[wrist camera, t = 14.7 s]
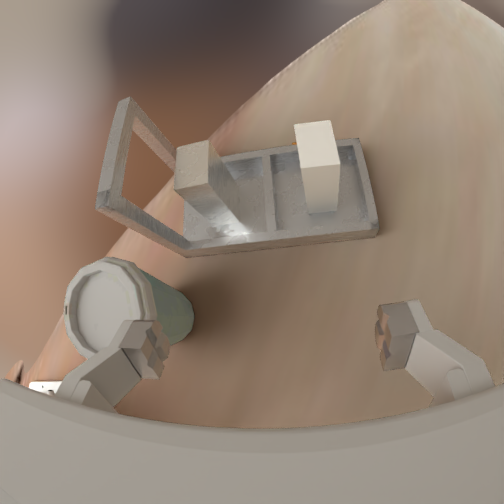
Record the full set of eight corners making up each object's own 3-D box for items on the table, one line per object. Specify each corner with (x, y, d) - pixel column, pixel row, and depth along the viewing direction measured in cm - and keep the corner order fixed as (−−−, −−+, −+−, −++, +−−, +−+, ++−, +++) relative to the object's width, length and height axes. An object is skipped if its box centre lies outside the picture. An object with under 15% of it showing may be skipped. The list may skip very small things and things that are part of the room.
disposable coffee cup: (211, 276, 37) (145, 246, 23) (211, 362, 34) (143, 381, 20) (141, 279, 39) (63, 255, 25) (140, 356, 37) (59, 362, 22)
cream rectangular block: (308, 213, 35) (300, 168, 25) (303, 177, 36) (293, 124, 26) (336, 210, 34) (340, 164, 24) (330, 174, 35) (330, 120, 25)
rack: (186, 257, 38) (94, 209, 21) (188, 175, 42) (119, 98, 25) (374, 237, 33) (414, 159, 16) (356, 150, 36) (365, 46, 19)
